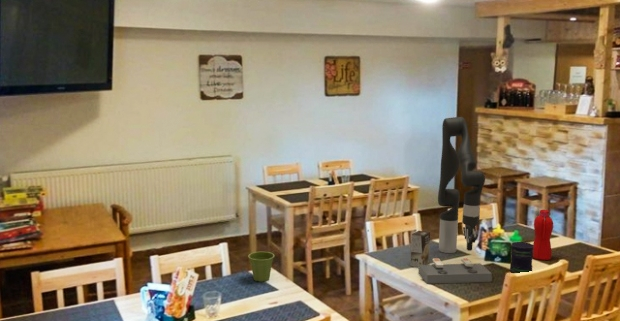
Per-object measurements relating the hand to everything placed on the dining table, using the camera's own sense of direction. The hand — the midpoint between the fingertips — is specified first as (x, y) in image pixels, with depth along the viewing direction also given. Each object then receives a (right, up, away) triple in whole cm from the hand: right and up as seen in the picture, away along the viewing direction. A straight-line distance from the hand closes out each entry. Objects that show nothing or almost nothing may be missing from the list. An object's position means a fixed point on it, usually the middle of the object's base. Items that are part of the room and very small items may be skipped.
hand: (469, 250), depth 282 cm
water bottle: (+44, -9, +28) cm, 53 cm away
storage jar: (+25, -13, +3) cm, 28 cm away
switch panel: (-7, -13, -1) cm, 15 cm away
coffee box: (-20, -10, +17) cm, 28 cm away
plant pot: (-96, -13, -5) cm, 97 cm away
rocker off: (-14, -6, +1) cm, 16 cm away
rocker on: (0, -6, +3) cm, 7 cm away
